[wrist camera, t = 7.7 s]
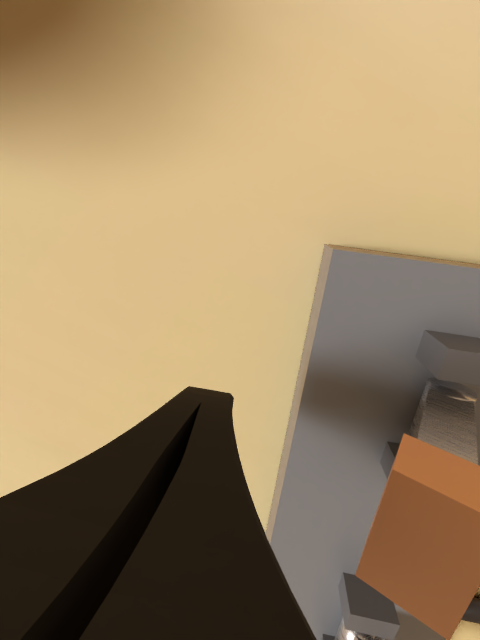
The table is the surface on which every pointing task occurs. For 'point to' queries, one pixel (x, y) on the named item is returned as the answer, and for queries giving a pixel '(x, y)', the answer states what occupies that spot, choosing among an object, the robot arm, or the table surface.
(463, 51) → the table surface
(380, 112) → the table surface
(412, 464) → the lever
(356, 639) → the lever
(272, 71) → the table surface
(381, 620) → the breaker block
